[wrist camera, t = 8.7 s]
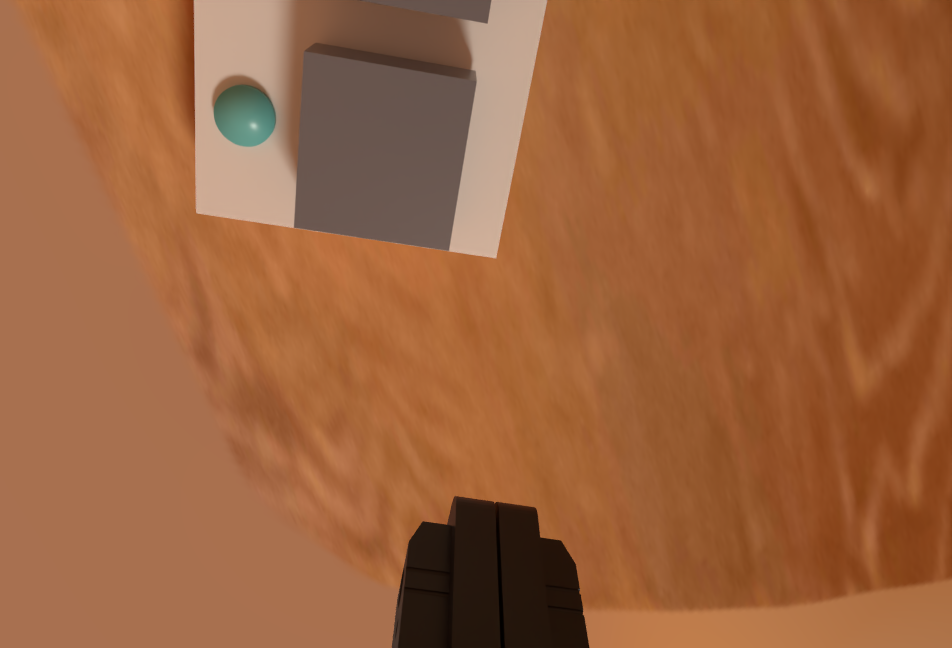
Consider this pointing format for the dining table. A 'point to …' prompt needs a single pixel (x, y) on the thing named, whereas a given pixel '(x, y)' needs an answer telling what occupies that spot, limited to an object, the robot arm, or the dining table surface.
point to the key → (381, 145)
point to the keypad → (280, 84)
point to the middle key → (445, 7)
